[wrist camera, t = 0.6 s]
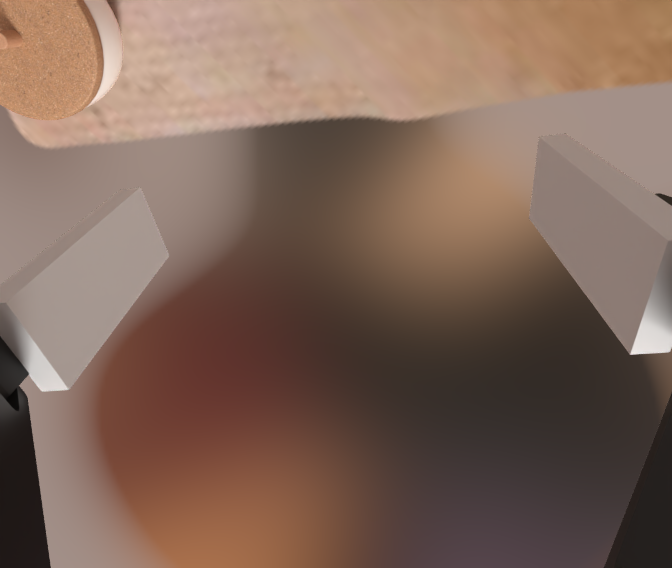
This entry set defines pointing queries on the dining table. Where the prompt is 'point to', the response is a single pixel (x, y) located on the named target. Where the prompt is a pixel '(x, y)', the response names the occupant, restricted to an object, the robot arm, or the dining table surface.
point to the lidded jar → (57, 55)
